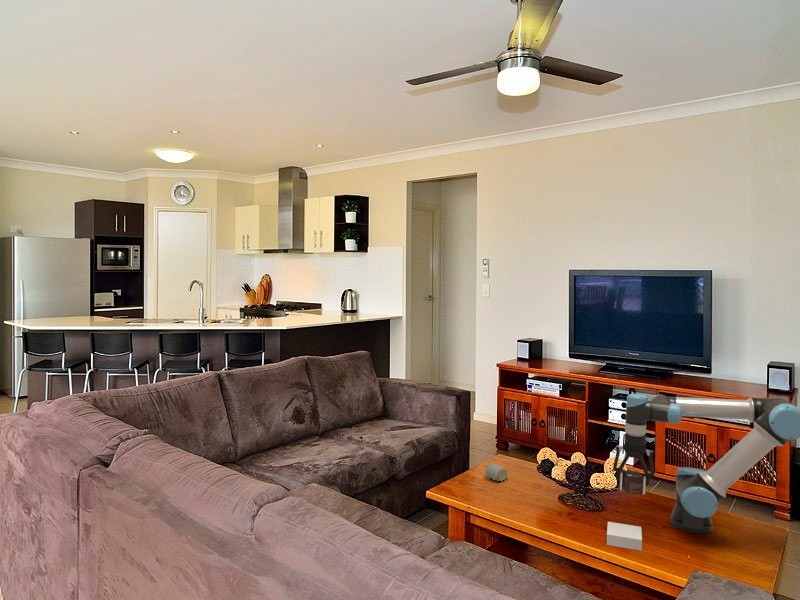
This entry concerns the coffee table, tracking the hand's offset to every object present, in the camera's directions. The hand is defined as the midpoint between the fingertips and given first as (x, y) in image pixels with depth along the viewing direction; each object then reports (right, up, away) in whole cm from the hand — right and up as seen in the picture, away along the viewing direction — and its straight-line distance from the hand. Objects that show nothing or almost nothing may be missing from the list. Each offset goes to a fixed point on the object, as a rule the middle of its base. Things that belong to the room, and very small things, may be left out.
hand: (632, 491), depth 220 cm
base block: (-7, -16, -9) cm, 19 cm away
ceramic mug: (-43, -14, +56) cm, 72 cm away
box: (0, 0, 0) cm, 0 cm away
